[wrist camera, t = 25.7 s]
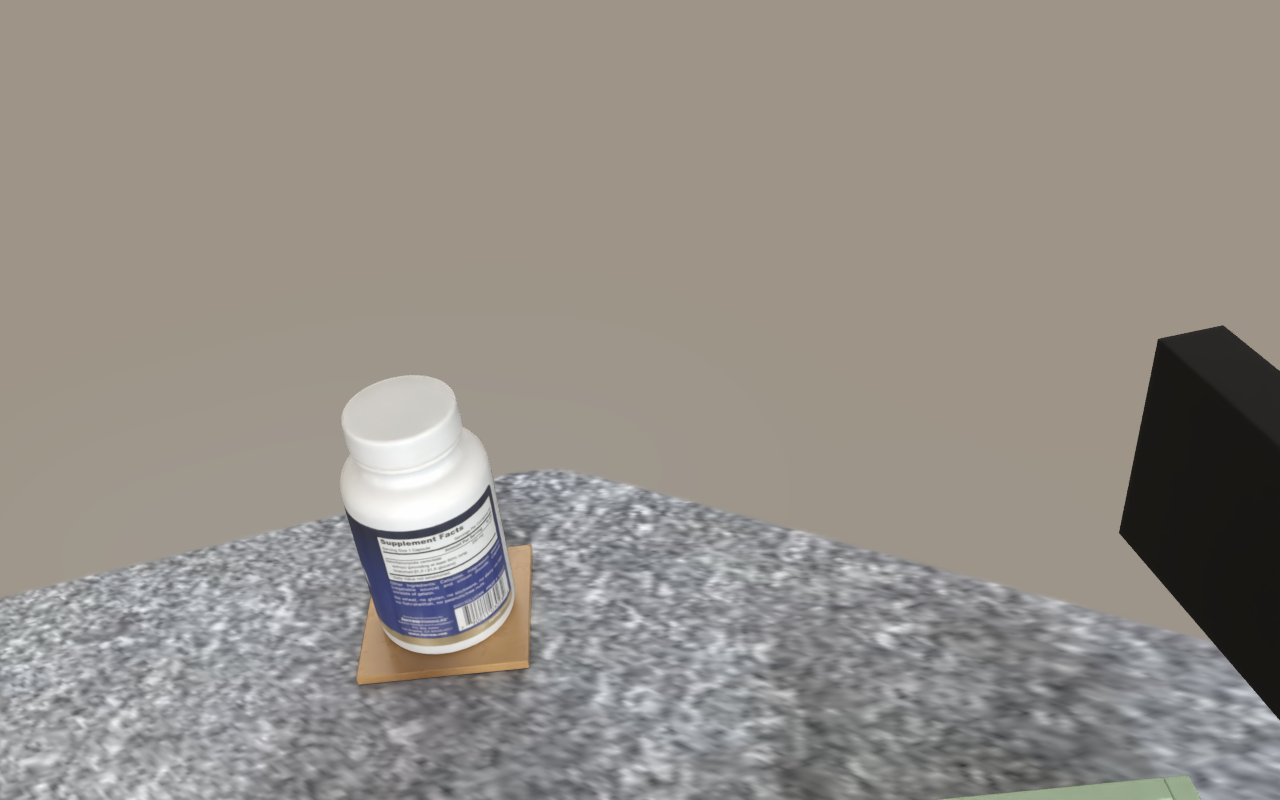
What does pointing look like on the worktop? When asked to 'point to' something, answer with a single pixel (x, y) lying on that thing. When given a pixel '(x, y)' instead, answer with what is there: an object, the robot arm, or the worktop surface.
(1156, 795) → the tray
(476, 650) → the coaster
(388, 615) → the pill bottle
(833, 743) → the worktop surface
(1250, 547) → the robot arm
